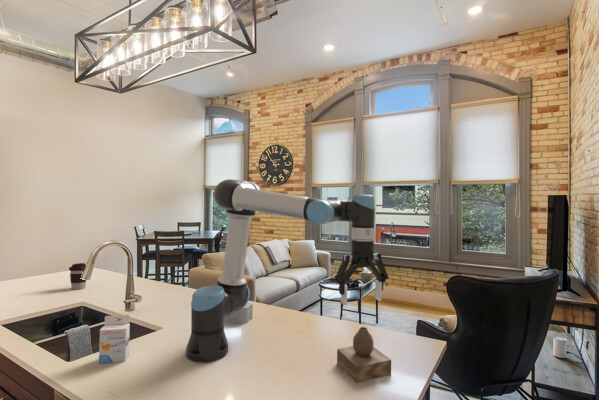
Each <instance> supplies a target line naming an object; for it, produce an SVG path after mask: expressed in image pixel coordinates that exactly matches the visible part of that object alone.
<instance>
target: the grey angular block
mask: <svg viewBox="0 0 599 400" xmlns="http://www.w3.org/2000/svg"><path fill="white" fill-rule="evenodd" d="M253 311H254V310H253V302H252V301H248V303H247V304H246V305H245V306H244V307H243V308H242V309H240V310H239V311H237V312H234V313H232V314H230V315H229V316H227V317H225V318H224V321H225V322H228V323H230V324H231V323H232V324H238V325H242V324H247V323H249V321H251V320H253V316H254V315H253Z"/></svg>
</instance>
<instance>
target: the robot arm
mask: <svg viewBox="0 0 599 400" xmlns="http://www.w3.org/2000/svg"><path fill="white" fill-rule="evenodd" d="M213 198H214V201H215V203H216V205H217V206H218V207H219V208H221V209H223V210H225V213H226V215H227V216H228V226H227V233H226V241H225V249H224V258H223V265H222V266H223V267H222V274H221V275H220V276H219V277H217V282H216V283H217V285H213V284H212V285H207V286H202V287H199V288H197V289H196V290H195V291H193V293H192V296H191V303H190V307H191V310H190V311H191V312H190V313H191V316H190V317H191V318H190V319H191V320H190V321H191V325H190V326H191V330H190V331H191V332H190V336H189V338H188V342H187V344H186V349H185V357H186V359H187V360H188V361H191V362H196V363H209V362H214V361H218V360H220V359H222V358H224V357H225V356H227V355H228V353H229V342H228V338H227V336H226V332H225V319H224V318H225V317H227V316H229V315H230V314H232V313H234V312H237V311H239V310H240V309H242V308H243V307H244V306H245V305H246V304H247V303H248V301H249V300H250V296H251V291H250V288H249V287H248V284H247V282H248V281H247V279H246V278H245V277H244V276H245V267H246V259H247V251H248V245H249V244H248V243H249V235H250V228H251V220H252V219H253V218H254V217H255V216H256V212H258V213H263V214H270V215H275V216H281V217H287V218H291V219H298V220H303V221H308V222H311V223H313V224H316V225H326V224H329V223H333V222H348V223H351V238H352V240H351V249H350V250H351V254H345V253H344V254H343V256H342V261H341V264H340V266H339V268H338V270H337V272H336V275H335V277H334V279H333V282H334V283H336V284H338V286H339V287H338V289H339V290H338V292H339V294H340V303H341V304H342V305H343V306H348V285H347V282H348V281H349V280H350V279H351V277H352V275H353V274H354V273H355V272H356V270H358V268H359V269H362V268H368V269H369V270H370V272H372V273H371V274H373V276H374V277H375V278H376V279H375V281H374V282H375V284H374V287H375V289H374V291H375V292H374V300H377V301H378V302H382V292H383V290H384V283H385V282H386V281H387V280H389V278H390V277H389V274H388V273H387V270H386V267H385V265H384V263H383V260H382V253H379V252H375V250H374V249H375V242H374V239H375V217H376V215H375V212H376V207H375V205H376V204H375V203H376V202H375V197H374V195H372V194H353V195H352V198H351V199H331V198H330V199H328V198H327V199H324V198H322V199H321V198H316V197H315V198H314V197H309V196H302V195H295V194H291V193H284V192H283V193H282V192H277V191H270V190H265V189H261V188H260V187H259V185H258V184H256V183H255V182H253V181H248V180H239V179H230V178H229V179H225V180H222V181H220V182H219V183H218V184H217V185H216V186H215V188H214V191H213ZM373 260H374V261H375V262H373ZM376 266H377V267H376ZM249 302H250V301H249Z"/></svg>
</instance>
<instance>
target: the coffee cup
mask: <svg viewBox="0 0 599 400" xmlns="http://www.w3.org/2000/svg"><path fill="white" fill-rule="evenodd" d="M85 265H87V264H86V263H83V262H80V263H73V264H72V265H71V266H70V267H69V268H68V271H70V273H69V277H70V279H69V280H70V285H71V286H70V288H71V290H73V291H74V290H75V291H77V290H83V289H85V288H86V287H87V281H86V280H82V279H80V278H81V275H82V268H83V267H84V266H85Z"/></svg>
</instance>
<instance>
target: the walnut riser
mask: <svg viewBox="0 0 599 400" xmlns="http://www.w3.org/2000/svg"><path fill="white" fill-rule="evenodd" d="M336 363H337V365H339V367H341V369H342V370H343V371H344V372H345V373H346V374H347V375H349V377H350V378H351V379H353V381H355V383H358V384H359V383H362V382H366V381H370V379H371V380H375V378H376V379H380V378H384V376H385V377H389V376H392V359H391V358H390V357H388V356H387V355H385V354H384V353H383V352H382V351H380V350H379V349H377V348H375V347H373V351H372V353H371V354H370V355H369V356H367V357H362V356H359V355H358V354H357V353H356V352H355V350H354V348H353V345H351V346H346V347H341V348H337V352H336ZM379 377H380V378H379Z"/></svg>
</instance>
